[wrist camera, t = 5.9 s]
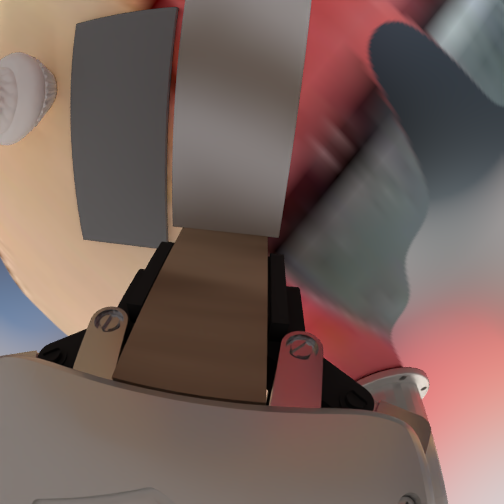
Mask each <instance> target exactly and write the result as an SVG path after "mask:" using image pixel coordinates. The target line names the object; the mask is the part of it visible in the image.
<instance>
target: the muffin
mask: <svg viewBox="0 0 504 504" xmlns="http://www.w3.org/2000/svg"><path fill="white" fill-rule="evenodd" d="M56 87H57V85H56V81H55V77H54V75H53V74H52V73H51V72H50V71H49V70H48V69H47V68H46V67H45V66H44V65H43V64H42V63H41V62H40V60H39V59H36V58H35V57H31V56H30V55H28V54H25V53H22V52H15V53H11V54H9V55H7V56H5V57H4V58H2V59H1V60H0V144H1V145H12V144H14V143H16V142H18V141H20V140H21V139H22V138H24V137H25V136H26V135H27V134H28V133H29V132H30V131H32V129H33V128H34V127H36V126H37V124H38V123H39V122H40V120H41V119H42V118H43V116H44V115H45V114H46V112H47V111H48V110H49V109H50V107H51V106H52V103H53V102H54V99H55V98H56V94H57V92H56V91H57V88H56Z"/></svg>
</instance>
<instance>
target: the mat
mask: <svg viewBox="0 0 504 504" xmlns="http://www.w3.org/2000/svg"><path fill="white" fill-rule="evenodd" d="M178 9H179V8H177V7H169V8H158V9H149V10H142V11H135V12H129V13H123V14H117V15H112V16H107V17H103V18H98V19H94V20H90V21H86V22H82V23H78V24H76V31H75V39H74V48H73V59H72V73H71V143H72V158H73V170H74V180H75V189H76V197H77V204H78V211H79V217H80V223H81V229H82V235H83V240H91V241H99V242H107V243H116V244H124V245H132V246H140V247H149V248H158V246H159V245H160V243H161V242H162V241H163V242H168V226H167V134H168V111H169V94H170V81H171V69H172V58H173V48H174V39H175V31H176V23H177V16H178Z"/></svg>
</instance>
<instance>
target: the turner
mask: <svg viewBox="0 0 504 504" xmlns="http://www.w3.org/2000/svg"><path fill="white" fill-rule="evenodd" d="M310 10H311V0H185V6H184V13H183V21H182V28H181V37H180V46H179V55H178V66H177V77H176V91H175V107H174V127H173V162H172V209H173V226H174V227H183V229H182V230H181V232H180V234H179V236H178V238H177V240H176V242H175V244H174V245H173V247H172V249H171V251H170V253H169V255H168V257H167V259H166V261H165V263H164V265H163V267H162V269H161V271H160V273H159V275H158V277H157V279H156V281H155V283H154V285H153V287H152V289H151V291H150V293H149V295H148V297H147V299H146V301H145V303H144V305H143V307H142V309H141V312H140V314H139V316H138V318H137V320H136V322H135V324H134V327H133V329H132V331H131V333H130V335H129V338H128V340H127V342H126V344H125V347H124V349H123V351H122V354H121V356H120V358H119V361H118V363H117V365H116V368H115V370H114V373H113V375H112V379H113V381H117V382H121V383H125V384H129V385H133V386H137V387H142V388H146V389H151V390H156V391H161V392H166V393H171V394H176V395H182V396H188V397H194V398H201V399H208V400H215V401H223V402H232V403H241V404H252V405H264V406H265V405H266V385H267V296H268V237H277V238H279V232H280V226H281V220H282V213H283V207H284V201H285V195H286V188H287V182H288V175H289V169H290V162H291V155H292V149H293V142H294V135H295V128H296V121H297V114H298V106H299V99H300V92H301V84H302V76H303V69H304V61H305V53H306V44H307V36H308V27H309V19H310Z"/></svg>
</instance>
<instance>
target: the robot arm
mask: <svg viewBox="0 0 504 504" xmlns="http://www.w3.org/2000/svg"><path fill="white" fill-rule="evenodd" d="M174 244H175V243H172V242H163V241H162V242H161V243H160V245H159V246H158V248H157V250H156V251H155V253H154V255H153V257H152V258H151V260H150V262H149V263H148V265H147V267H146V269H140V270H139V271H138V272H137V274H136V275H135V277H134V279H133V281H132V282H131V284H130V286H129V287H128V289H127V291H126V293H125V294H124V296H123V298H122V300H121V301H120V303H119V305H118V307H106V308H102V309H100V310H98V311H97V312H96V313H95V314H94V315H93V316H92V318H91V320H90V323H89V325H88V328H87V329H85V330H83V331H80V332H78V333H75V334H73V335H70V336H68V337H65V338H63V339H60V340H58V341H55V342H53V343H50V344H48V345H46V346H45V347H44V348H43V349H42V350H41V351H40V353H37V351H30V352H24V353H17V354H11V355H4V356H0V504H448V501H447V495H446V490H445V485H444V480H443V476H442V471H441V467H440V462H439V458H438V454H437V450H436V447H435V443H434V439H433V435H432V432H431V427H430V424H429V422H428V418H427V415H426V412H425V408H424V405H423V402H422V398H423V397H424V396H425V395H426V393H427V391H428V389H429V380H428V377H427V375H426V373H424V372H423V371H422V370H420V369H417V368H411V367H401V368H394V369H389V370H385V371H381V372H378V373H375V374H372V375H369V376H367V377H365V378H362V379H360V380H358V381H355V380H353V379H352V378H350V377H349V376H348V375H346V374H345V373H344V372H342V371H341V370H339V369H338V368H337V367H335V366H334V365H333V364H331V363H330V362H329V361H327V360H326V359H325V358H323V346H322V343H321V342H320V340H319V339H318V338H317V337H316V336H314V335H312V334H310V333H307V332H305V326H304V318H303V310H302V302H301V294H300V289H299V287H289V286H286V277H285V265H284V255H281V254H272V253H270V257H268V296H267V385H266V389H267V390H268V392H267V397H266V405H265V406H264V405H252V404H241V403H232V402H223V401H215V400H208V399H201V398H194V397H188V396H182V395H176V394H171V393H166V392H161V391H156V390H151V389H146V388H142V387H137V386H133V385H129V384H125V383H121V382H117V381H113V379H112V375H113V373H114V370H115V368H116V365H117V363H118V361H119V358H120V356H121V354H122V351H123V349H124V347H125V344H126V342H127V340H128V338H129V335H130V333H131V331H132V329H133V327H134V324H135V322H136V320H137V318H138V316H139V314H140V312H141V309H142V307H143V305H144V303H145V301H146V299H147V297H148V295H149V293H150V291H151V289H152V287H153V285H154V283H155V281H156V279H157V277H158V275H159V273H160V271H161V269H162V267H163V265H164V263H165V261H166V259H167V257H168V255H169V253H170V251H171V249H172V247H173V245H174Z"/></svg>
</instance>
